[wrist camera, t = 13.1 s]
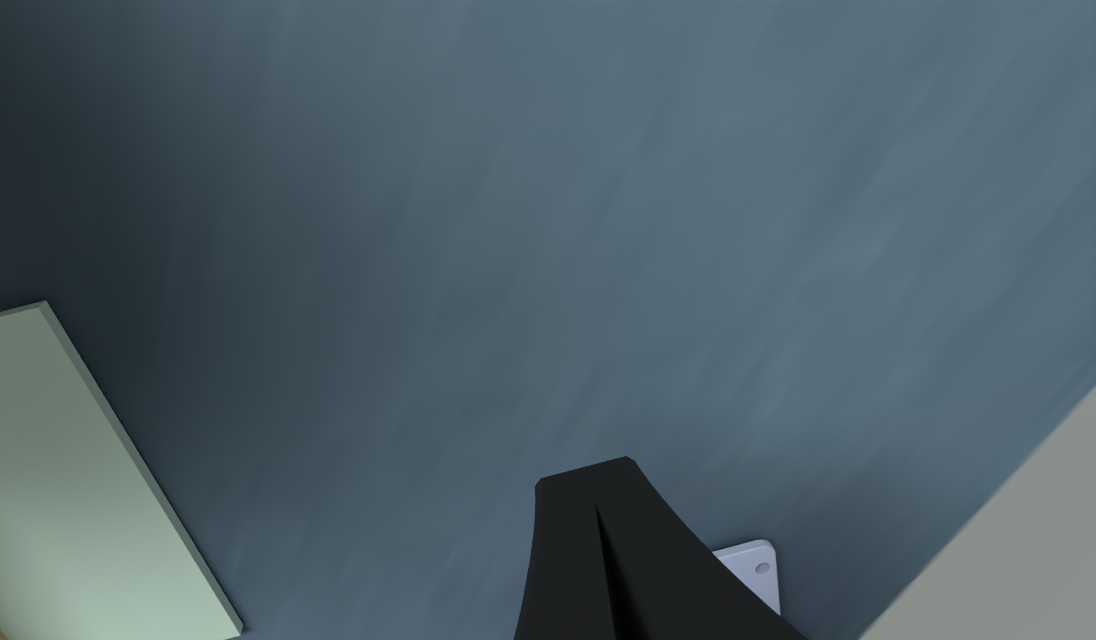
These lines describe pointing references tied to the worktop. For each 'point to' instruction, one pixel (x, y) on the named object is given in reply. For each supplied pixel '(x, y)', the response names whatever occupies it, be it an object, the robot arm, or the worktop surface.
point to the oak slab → (2, 636)
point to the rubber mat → (86, 509)
